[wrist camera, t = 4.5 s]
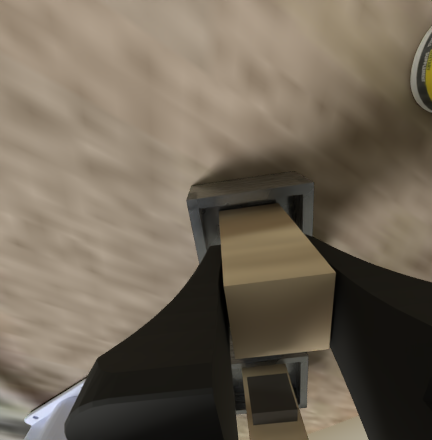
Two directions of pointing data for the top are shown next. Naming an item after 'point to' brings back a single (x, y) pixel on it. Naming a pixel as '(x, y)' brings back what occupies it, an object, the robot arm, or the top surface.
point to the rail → (210, 235)
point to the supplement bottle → (423, 73)
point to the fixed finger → (271, 404)
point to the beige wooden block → (274, 284)
